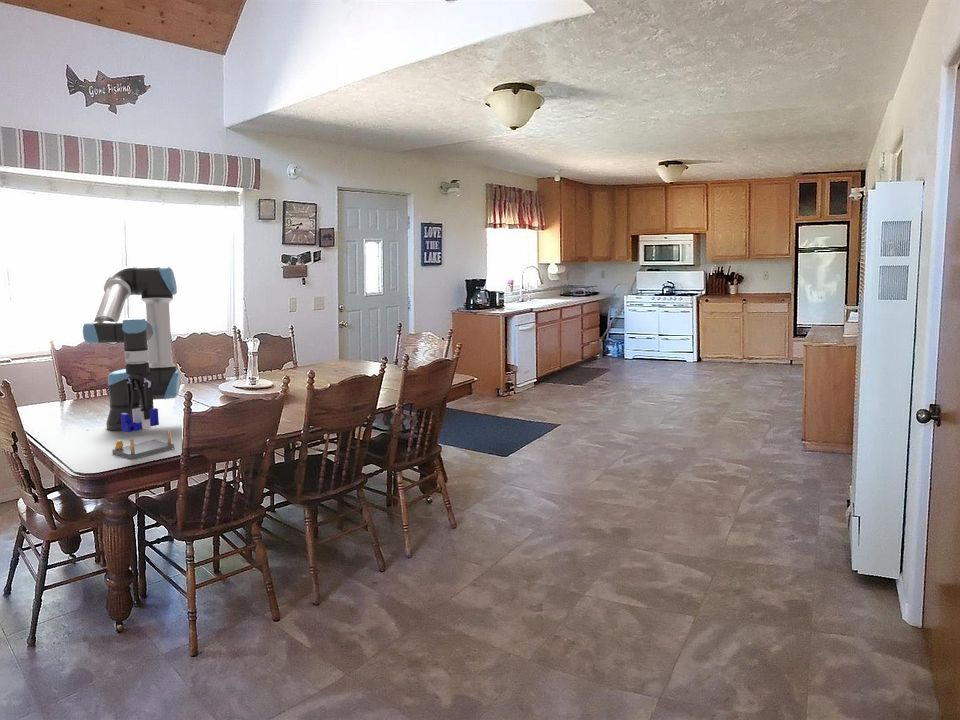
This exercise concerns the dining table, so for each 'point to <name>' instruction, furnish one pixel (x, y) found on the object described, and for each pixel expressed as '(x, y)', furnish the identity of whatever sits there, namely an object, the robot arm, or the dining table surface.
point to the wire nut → (119, 445)
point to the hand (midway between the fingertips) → (141, 427)
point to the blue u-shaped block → (133, 426)
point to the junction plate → (144, 448)
